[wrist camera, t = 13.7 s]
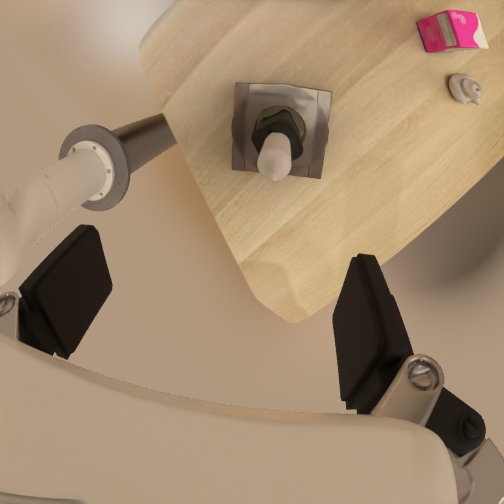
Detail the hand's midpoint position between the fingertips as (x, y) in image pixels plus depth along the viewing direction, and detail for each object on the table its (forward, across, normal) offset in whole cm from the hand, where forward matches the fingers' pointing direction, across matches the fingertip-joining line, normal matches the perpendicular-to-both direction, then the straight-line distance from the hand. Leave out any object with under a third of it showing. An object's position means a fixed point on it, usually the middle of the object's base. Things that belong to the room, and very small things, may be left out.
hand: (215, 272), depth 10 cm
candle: (+38, -2, 0) cm, 38 cm away
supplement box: (+37, -26, -22) cm, 50 cm away
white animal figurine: (+37, -32, -14) cm, 51 cm away
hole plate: (+37, -2, 0) cm, 37 cm away
